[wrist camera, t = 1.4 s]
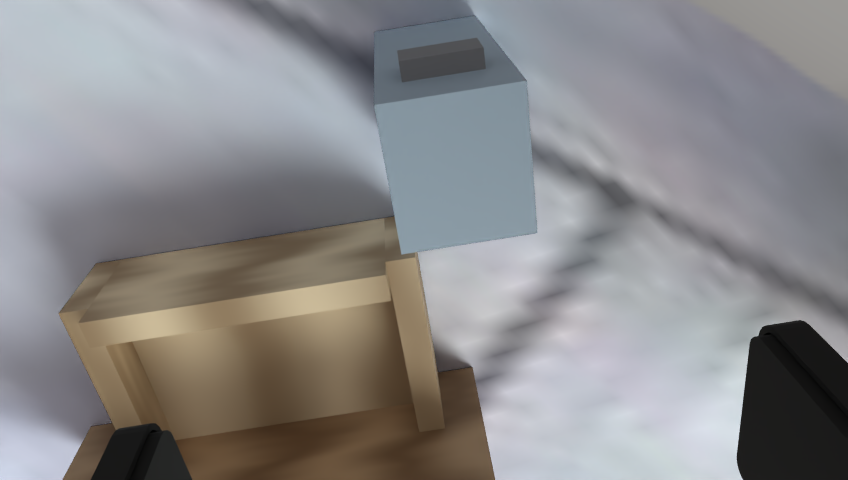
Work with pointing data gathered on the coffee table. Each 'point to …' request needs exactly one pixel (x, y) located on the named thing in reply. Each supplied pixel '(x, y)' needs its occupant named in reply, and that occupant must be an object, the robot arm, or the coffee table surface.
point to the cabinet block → (453, 135)
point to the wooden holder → (278, 360)
